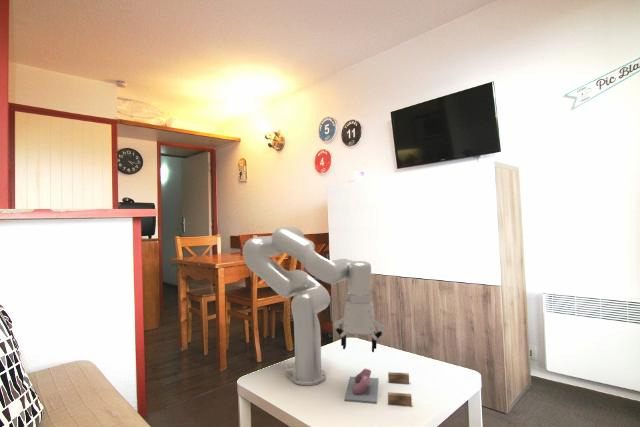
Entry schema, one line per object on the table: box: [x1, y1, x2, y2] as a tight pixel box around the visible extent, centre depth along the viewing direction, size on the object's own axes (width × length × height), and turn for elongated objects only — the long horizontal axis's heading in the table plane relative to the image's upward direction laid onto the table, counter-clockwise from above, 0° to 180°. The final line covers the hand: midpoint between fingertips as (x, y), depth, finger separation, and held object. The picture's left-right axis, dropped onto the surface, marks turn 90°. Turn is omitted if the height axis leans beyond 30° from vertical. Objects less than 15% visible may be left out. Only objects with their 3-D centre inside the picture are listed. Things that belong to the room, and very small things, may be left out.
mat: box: [343, 376, 379, 405], centre depth 114 cm, size 10×16×1 cm, turn 168°
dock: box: [387, 371, 413, 408], centre depth 112 cm, size 7×16×3 cm, turn 168°
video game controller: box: [352, 367, 372, 394], centre depth 114 cm, size 10×5×7 cm, turn 169°
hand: (358, 349), depth 115 cm, fingers open, 9 cm apart
